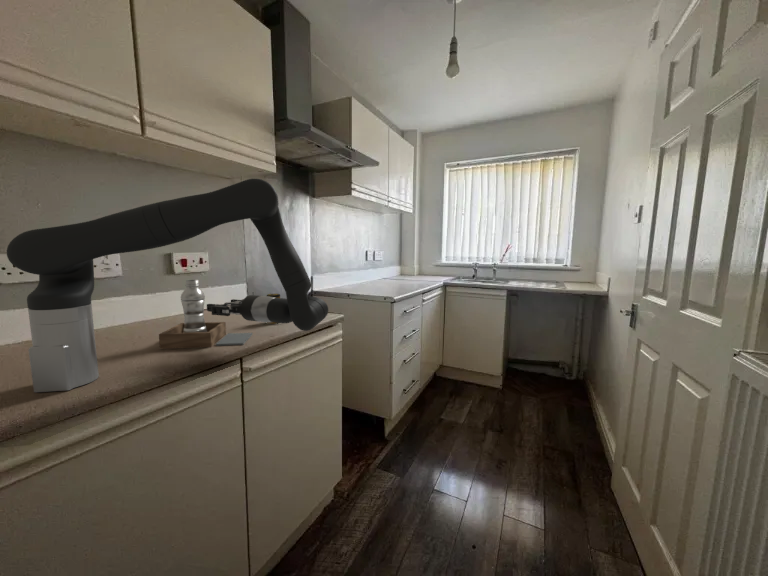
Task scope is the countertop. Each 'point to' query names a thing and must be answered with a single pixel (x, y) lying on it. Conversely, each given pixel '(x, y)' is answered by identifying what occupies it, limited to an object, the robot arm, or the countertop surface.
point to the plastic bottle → (193, 307)
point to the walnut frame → (192, 336)
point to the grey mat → (234, 339)
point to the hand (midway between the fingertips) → (220, 304)
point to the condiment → (274, 297)
